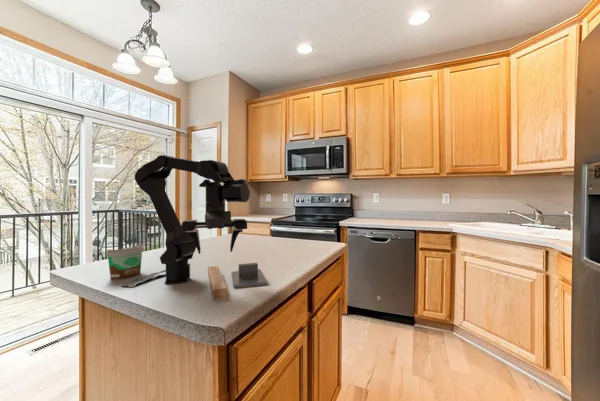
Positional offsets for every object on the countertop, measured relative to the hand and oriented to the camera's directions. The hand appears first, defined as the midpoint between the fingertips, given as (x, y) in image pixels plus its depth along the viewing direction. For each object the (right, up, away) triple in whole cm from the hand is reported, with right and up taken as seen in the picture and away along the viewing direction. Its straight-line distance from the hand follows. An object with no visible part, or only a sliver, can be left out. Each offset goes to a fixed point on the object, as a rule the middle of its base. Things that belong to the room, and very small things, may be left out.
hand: (215, 252), depth 80 cm
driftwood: (-23, -11, +7) cm, 27 cm away
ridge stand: (+9, -10, +5) cm, 14 cm away
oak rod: (0, -10, 0) cm, 10 cm away
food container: (-32, -10, +9) cm, 35 cm away
